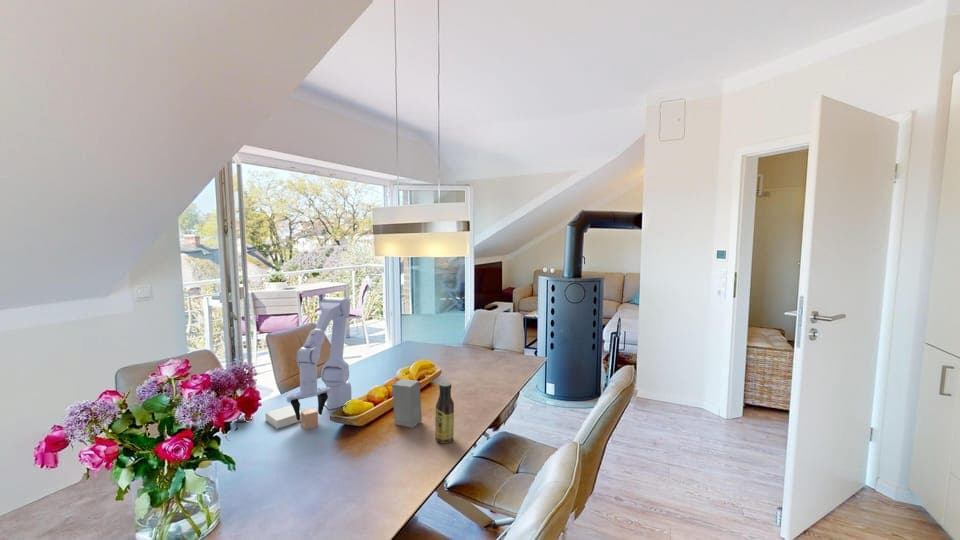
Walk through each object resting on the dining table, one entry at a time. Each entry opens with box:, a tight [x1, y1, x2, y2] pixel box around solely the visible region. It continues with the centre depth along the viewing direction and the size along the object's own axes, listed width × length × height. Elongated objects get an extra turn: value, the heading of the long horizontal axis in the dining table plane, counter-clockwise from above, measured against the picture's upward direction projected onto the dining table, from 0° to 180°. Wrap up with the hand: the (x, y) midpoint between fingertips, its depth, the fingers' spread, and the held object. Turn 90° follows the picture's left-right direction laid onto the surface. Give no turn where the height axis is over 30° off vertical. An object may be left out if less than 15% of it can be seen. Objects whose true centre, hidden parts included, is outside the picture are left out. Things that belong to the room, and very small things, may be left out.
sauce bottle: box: [434, 381, 455, 444], centre depth 139 cm, size 6×6×20 cm
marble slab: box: [265, 404, 302, 430], centre depth 154 cm, size 10×10×3 cm
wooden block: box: [300, 407, 319, 430], centre depth 150 cm, size 5×5×6 cm
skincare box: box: [391, 378, 423, 429], centre depth 152 cm, size 8×7×16 cm
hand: (309, 416), depth 150 cm, fingers open, 7 cm apart
